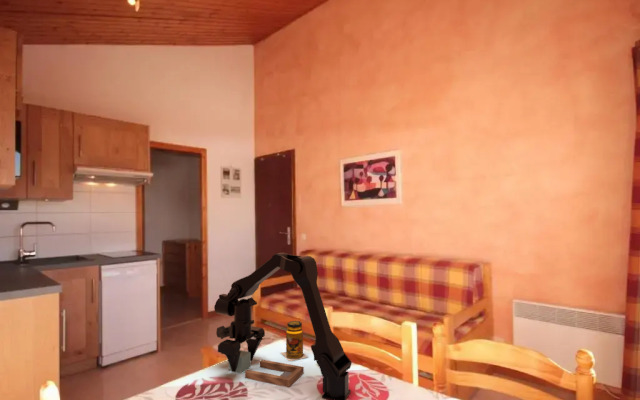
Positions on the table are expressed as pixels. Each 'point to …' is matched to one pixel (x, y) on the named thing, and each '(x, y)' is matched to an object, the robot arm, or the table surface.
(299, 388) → the table surface
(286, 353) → the condiment
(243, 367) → the block
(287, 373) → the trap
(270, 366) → the channel
